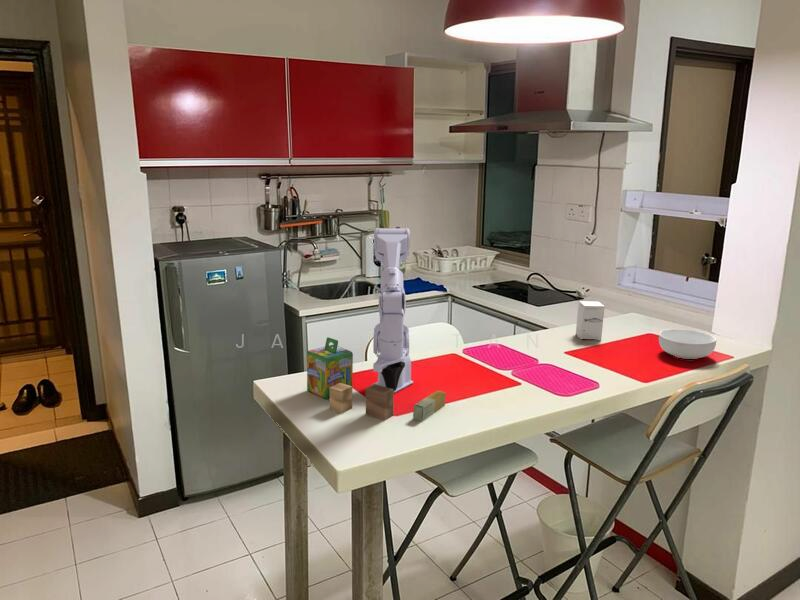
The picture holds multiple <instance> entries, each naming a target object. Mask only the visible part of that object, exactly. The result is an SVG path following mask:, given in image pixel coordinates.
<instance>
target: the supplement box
mask: <svg viewBox="0 0 800 600" xmlns="http://www.w3.org/2000/svg"><path fill="white" fill-rule="evenodd" d="M577 304H578V305H577V316H576V327H575V335H576V334H577V335H578V336H577V335H576V336H577V337H578V339H579V338H580V339H598V340H597V341H602V337H603V336H602V335H603V334H602V333H603V328H604V327H603V326H604V325H603V324H604V316H605V308H606V307H605V305H604V304H602V302H600V301H590V300H585V301H584V300H579V301H578V303H577ZM580 339H579V340H580Z"/></svg>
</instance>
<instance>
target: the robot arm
mask: <svg viewBox="0 0 800 600" xmlns="http://www.w3.org/2000/svg"><path fill="white" fill-rule="evenodd" d="M410 243H411V232H410V229H409V228H408V227H405V228H402V227H401V228H399V227H398V228H392V227H391V228H384V227H383V228H381V227H379V228H378V227H375V228H374V230H373V249H374V256H375V260H377V261H379V262H380V263H381V264H382V267H383V271H381V274H380V293H378V314H379V323H377V324H376V325H375V326H374V328H373V339H372V340H373V344H372V345H373V353H374V356H375V355H376V357H377V359H376V361H375V362H374V363H372V365H373V366H372V367H373V368H372V369H373V370H372V371H373V372H375V373H377V374H378V375H377V381H376V382H374V383H371V385H373V384H377V385H380V386H384V387H387V388H391V389H394V394H395V393H397V392H399V391H401V390H402V389H405V388H407V387H408V386H411V385H412V384H414V381H413V380H412V360H411V357H410V355H409V353H410V333H409V332H410V330H409V329H410V328H409V326H408V325H407V324H405V322H404V321H405V319H404V317H405V316H404V315H405V314H406V307H407V305H406V303H407V301H406V292H405V288H404V273H403V272H402V270H401V269H400V268H401V265H402V262H405V261H407V260H409V259H408V258H409V256H410V255H409V254H410V246H411V245H410ZM402 311H403V312H402Z"/></svg>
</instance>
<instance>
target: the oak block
mask: <svg viewBox="0 0 800 600" xmlns="http://www.w3.org/2000/svg"><path fill="white" fill-rule="evenodd" d="M352 390H353V385H352V386H349V385H346V384H342V383H339V384H336V385H334V386H332V387H330V399H329V410H330V411H333V412H336V413H339V414H344V413H346V412H348V411H350V410H353V391H352Z"/></svg>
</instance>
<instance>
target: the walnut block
mask: <svg viewBox="0 0 800 600" xmlns="http://www.w3.org/2000/svg"><path fill="white" fill-rule="evenodd" d="M372 384H373V385H372ZM372 384H371V385H369V386H367V387H366V388H365V415H366V414H367V416H370V417H373V418H376V419H378V418H379V420H382V421H387V420H388V419H390V418H392V417H394V402H395V401H394V400H395V399H394V398H395V397H394V394H395V393H394V389H391V388H387V387H384V386H380V385H377V384H374V383H372Z"/></svg>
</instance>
